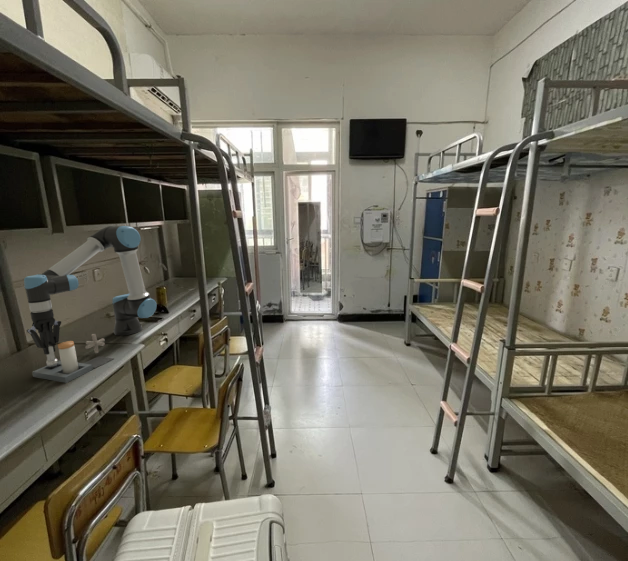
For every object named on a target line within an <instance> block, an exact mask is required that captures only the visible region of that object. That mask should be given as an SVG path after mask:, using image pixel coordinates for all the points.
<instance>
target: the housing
mask: <svg viewBox="0 0 628 561" xmlns="http://www.w3.org/2000/svg"><path fill="white" fill-rule="evenodd" d="M84 363H85V362H78V367H79V370H77V371H75V372H73V373H71V374H69V375H68V374H63V369H62V364H61V359H59V360H58V364H59V367H56V368H54V369H48V368H47V365H45V366H43V367H39V368H38V369H36V370H33V371H32V377H33V378H38V379H43V380H49V381H55V382H60V383H64V384H65V383H66V384H67V383H69V382H71V381H73V380H75V379H77V378H78V377H81V376H83V375H85V374H87V373H90V372H91V371H93V370H94V368H92V365H91V364H84Z"/></svg>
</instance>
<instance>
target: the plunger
mask: <svg viewBox="0 0 628 561" xmlns="http://www.w3.org/2000/svg"><path fill="white" fill-rule="evenodd" d="M58 359H59V358H56V357H55V360H53V361H49V360H47V359H46V361H45V362H46V366H47V368H48V369H54V368H56V367H59V364H58V361H59V360H58Z"/></svg>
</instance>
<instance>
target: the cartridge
mask: <svg viewBox="0 0 628 561" xmlns="http://www.w3.org/2000/svg"><path fill="white" fill-rule="evenodd" d="M74 342H75V341H73V340H67V341H63V342H60V343H58V344H57V348H58V349H57V350H58V354H59V360H61V364H62V369H63V374H68V375H69V374H71V373H73V372H75V371H77V370H79V367H78V363H79V362H78V358H77V352H76V347H75V343H74Z"/></svg>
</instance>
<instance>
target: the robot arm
mask: <svg viewBox="0 0 628 561" xmlns="http://www.w3.org/2000/svg"><path fill="white" fill-rule="evenodd" d="M141 239H142V238H141V235H140V233H139V231H138V230H137V229H136V228H135V227H132V226H127V225H112V226H111V225H110V226H105V227H102V228H101V229H98V230H97V231H96V232H94V233H93V234H91V235H90V236H89V237H87V239H86V240H87V241H86V242H84V243H82V244H81V245H80V246H79V247H77V248H75V250H73V251H72V252H70V253H69V254H67V255H66V256H65V257H63V258H62V259H60V260H59V261H58V262H56V263H55V264H54V265H52V266H51V267H49V268H48V269H46V270H45V271H44V272H42V273H38V274H34V275H28V276H25V277H24V278H23V283H24V284H23V285H24V287H23V288H24V290H25V294H26V298H27V303H28V308H29V312H30V318H31V322H32V324H31V327H30V328H29V329H28V328H27V329H26V333H28V334H30V336H31V338H32V341H33V342H34V344H35V345H36V347H37V348H38V349H39V348H40V349H43V354H44V355H46V361H47V360H49V361H53V360H55V358H56V355H55V352H56V346H57V343H58V344H59V341H60V331H61V330H60V329H61V328H60V327H61V324H62V321H60V320H56V318H54V317H55V314H54V310H53V305H52V299H51V295H52V296H53V295H55V294H56V295H57V294H61V293H66V292H72V291H75V290H77V289H78V288H79V280H78V278H77V277H76V276H75V275H74V274H72V273H73V272H75V271H76V270H77V269H78V268H80V267H81V266H82V265H84V264H85V263H86V262H87V261H89V260H90V259H92V258H93V257H94V256H95V255H97V254H98V253H99V252H100V253H102V252H104V251H105V250H107V249H110V248H113V251H114V253H116V254H117V255H118V257H119V260H120V264H121V268H122V272H123V276H124V279H125V283H126V288H127V290H128V293H126V294H121V295H117V296H114V297H113V298H112V308H113V309H112V310H113V314H114V319H115V320H114V321H115V322H114V328H113V334H114V335H115V336H129V335H132V334H136V333H139V332H141V331H142V330H143V325H142V324H141V322H140V320H139V318H140V319H149V318H151V317H152V316H153V315H154V314H155V312H156V311H157V305H158V304H157V302H156V300H155V299H153V298H151V295H150V292H148V291H147V290H146V286H145V282H144V279H143V274H142V271H141V267H140V263H139V258H138V255H137V251H138V250H139V245H140V244H141Z"/></svg>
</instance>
